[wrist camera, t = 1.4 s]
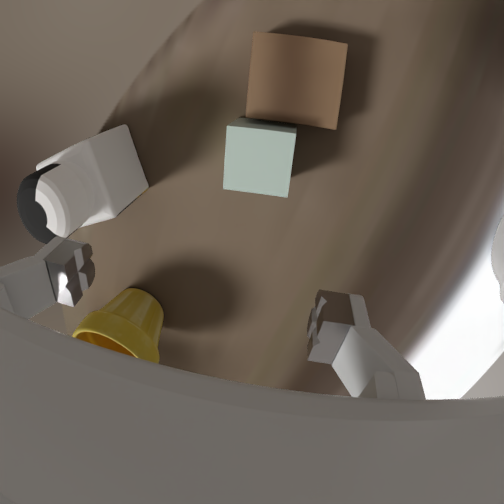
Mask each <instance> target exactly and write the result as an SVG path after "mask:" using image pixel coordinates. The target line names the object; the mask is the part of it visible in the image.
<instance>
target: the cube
mask: <svg viewBox="0 0 504 504" xmlns="http://www.w3.org/2000/svg"><path fill="white" fill-rule="evenodd" d="M296 130H297V124H292V123H284V122H277V121H268V120H260V119H250V118H240V117H239V118H238V119H236V120H235V121H233V122H232V123H230V124H229V125H227V133H226V148H225V164H224V181H223V189H228V190H236V191H244V192H252V193H259V194H266V195H274V196H280V197H288V190H289V183H290V176H291V169H292V162H293V154H294V147H295V139H296Z"/></svg>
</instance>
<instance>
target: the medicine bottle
mask: <svg viewBox="0 0 504 504" xmlns="http://www.w3.org/2000/svg"><path fill="white" fill-rule="evenodd" d="M36 169H37V171H36V172H34V173H33V174H30V175H29V176H27V177H26V178H24V180H23V181H22V182H21V184H20V186H19V190H18V194H17V207H18V212H19V215H20V218H21V220H22V222H23V224H24V226H25V228H26V229H27V230H28V231H29V233H30V234H31V235H32V236H33V237H34V238H36V239H37V240H38V241H40V242H42V243H45V244H48V243H49V242H50V241H51V240H52V239H53V238H54V237H58V236H59V237H64V238H68V237H69V236H70V235H71V234H72V233H73V232H75V231H76V230H77V229H78V228H80V227H83V226H87V225H90V224H94V223H97V222H101V221H105V220H108V219H112V218H115V217H117V216H118V215H119V214H120V213H121V212H122V211H123V210H124V209H126V208H127V207H128V206H129V205H130V204H131V203H132V202H133V201H135V200H136V199H137V198H138V197H139V196H140V195H142V194H143V193H144V192H145V191H146V190H147V189H148V187H149V186H148V183H147V180H146V178H145V175H144V172H143V169H142V166H141V164H140V161H139V158H138V155H137V152H136V149H135V146H134V144H133V141H132V138H131V135H130V132H129V129H128V126H127V125H126V124H123V125H120V126H118V127H115V128H113V129H110V130H107V131H105V132H102V133H100V134H97V135H95V136H93V137H90V138H88V139H85V140H83V141H81V142H80V143H77V144H75V145H73V146H71V147H69V148H67V149H65V150H63V151H61V152H60V153H57V154H55V155H54V156H52V157H50V158H48V159H46V160H45V161H42V162H41V163H39V164H38V165H37V166H36Z"/></svg>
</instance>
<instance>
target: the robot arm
mask: <svg viewBox="0 0 504 504" xmlns="http://www.w3.org/2000/svg"><path fill="white" fill-rule="evenodd" d="M92 254H93V253H92V248H91V246H90V245H89V244H88V243H84V242H80V241H76V240H72V239H67V238H64V237H59V236H58V237H54V238H53V239H52V240H51V241H50V242H49V243H48V244H46V245H45V246H44V247H43V248H42V249H41V250H40V251H39V252H38V253H36V255H34V256H33V257H27V258H24V259H21V260H18V261H16V262H13V263H10V264H8V265H5V266H2V267H0V504H504V396H497V397H487V398H470V399H442V400H426V398H425V394H424V391H423V387H422V383H421V379H420V376H419V373H418V372H417V371H416V370H415V369H414V368H413V367H412V366H411V365H410V364H409V363H408V362H407V361H406V360H405V359H404V358H403V356H402V355H401V354H400V353H399V352H398V351H397V350H396V349H395V348H394V347H393V346H392V345H391V344H390V343H389V342H388V341H387V340H386V339H385V338H384V337H383V336H382V335H381V334H380V333H379V332H378V331H377V330H376V329H373V328H371V326H370V322H369V318H368V314H367V310H366V306H365V302H364V298H363V296H362V295H355V294H345V293H338V292H332V291H326V290H320V289H319V291H318V292H317V295H316V298H315V307H314V308H312V309H311V313H310V316H309V320H308V326H307V336H308V337H309V338H310V339H309V342H308V345H307V360H309V361H315V362H321V363H328V364H332V367H333V368H334V370H335V371H336V373H337V374H338V376H339V377H340V379H341V381H342V382H343V384H344V385H345V387H346V388H347V390H348V391H349V393H350V394H351V396H352V397H348V396H336V395H326V394H317V393H308V392H300V391H292V390H285V389H278V388H271V387H264V386H258V385H253V384H247V383H241V382H236V381H231V380H226V379H221V378H216V377H211V376H207V375H202V374H198V373H194V372H189V371H185V370H181V369H177V368H173V367H169V366H165V365H161V364H157V363H154V362H150V361H146V360H143V359H139V358H136V357H132V356H129V355H126V354H122V353H119V352H116V351H113V350H109V349H106V348H103V347H100V346H97V345H94V344H91V343H88V342H85V341H83V340H80V339H77V338H74V337H71V336H69V335H66V334H63V333H61V332H58V331H55V330H53V329H50V328H48V327H45V326H42V325H40V324H38V323H35V322H33V321H30V320H28V319H30V318H31V317H33V316H35V315H36V314H38V313H40V312H41V311H43V310H44V309H46V308H48V307H50V306H51V305H53V304H55V303H56V302H59V303H62V304H66V305H69V306H72V307H74V306H75V305H76V304H77V302H78V301H79V300H80V299H81V297H82V296H83V294H82V291H83V290H86V289H88V288H89V287H90V286H91V284H92V282H93V280H94V277H95V266H94V263H93V262H92V260H91V259H90V258H91V256H92ZM491 261H492V268H493V272H494V274H495V276H496V278H497V280H498V281H499V284H500V298H501V300H502V302H503V303H504V215H503V217H502V219H501V221H500V223H499V225H498V228H497V230H496V233H495V236H494V240H493V245H492V253H491Z"/></svg>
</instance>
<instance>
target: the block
mask: <svg viewBox="0 0 504 504" xmlns="http://www.w3.org/2000/svg"><path fill="white" fill-rule="evenodd" d="M347 47H348V44H345V43H340V42H335V41H329V40H323V39H317V38H310V37H303V36H295V35H287V34H277V33H266V32H253V41H252V51H251V61H250V72H249V83H248V94H247V105H246V116H245V117H248V118H257V119H266V120H275V121H282V122H290V123H297V124H304V125H310V126H316V127H322V128H328V129H334V130H336V127H337V120H338V114H339V107H340V101H341V94H342V86H343V79H344V71H345V63H346V55H347Z"/></svg>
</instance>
